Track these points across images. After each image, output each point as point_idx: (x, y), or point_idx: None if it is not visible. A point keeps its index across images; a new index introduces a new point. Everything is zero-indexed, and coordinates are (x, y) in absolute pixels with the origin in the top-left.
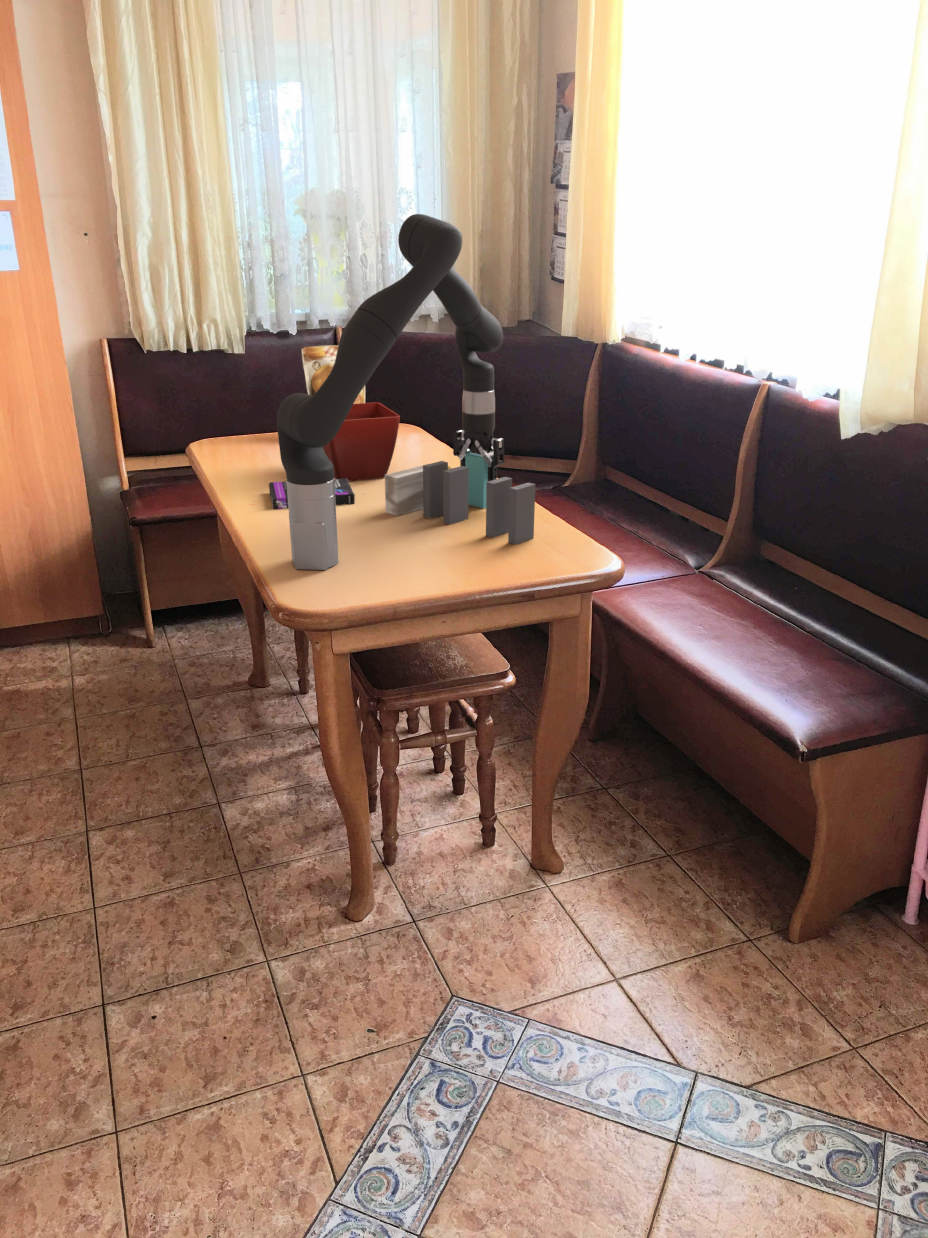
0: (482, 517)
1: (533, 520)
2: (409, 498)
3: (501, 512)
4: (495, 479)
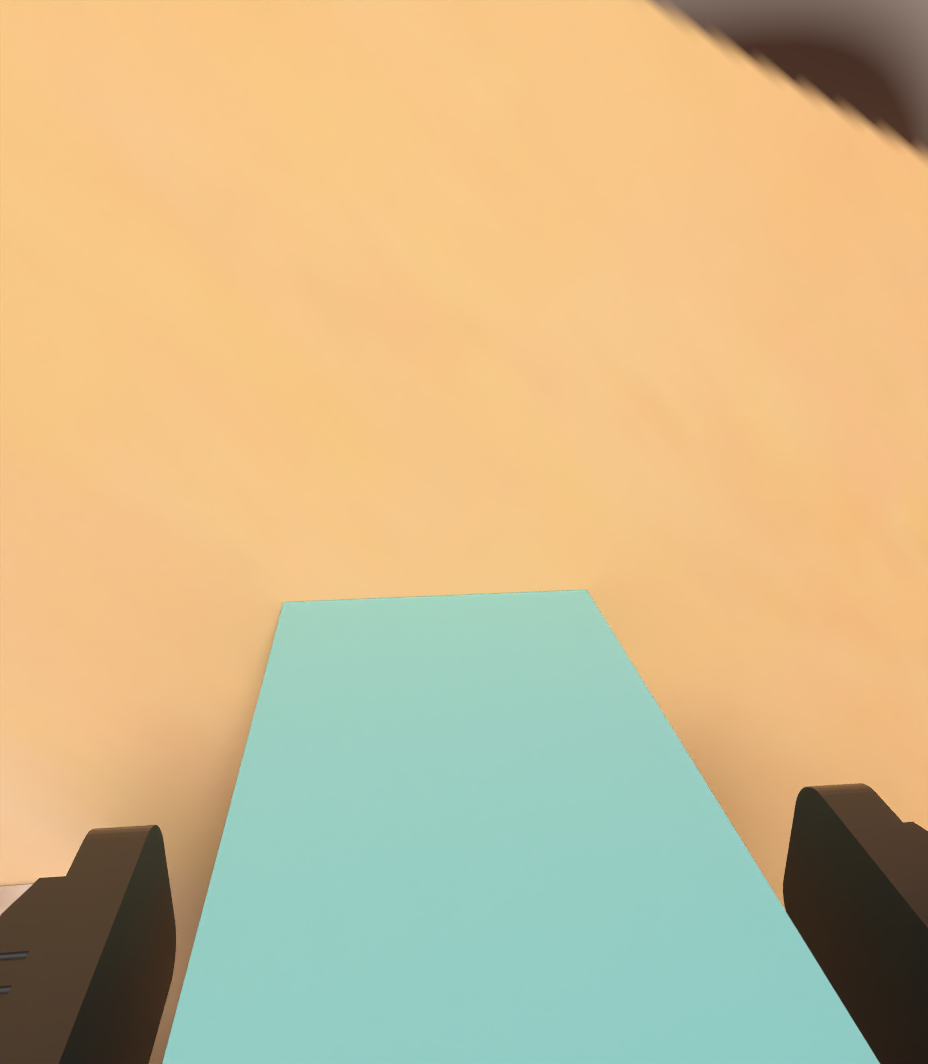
0: (758, 863)
1: None
2: None
3: None
4: (867, 800)
